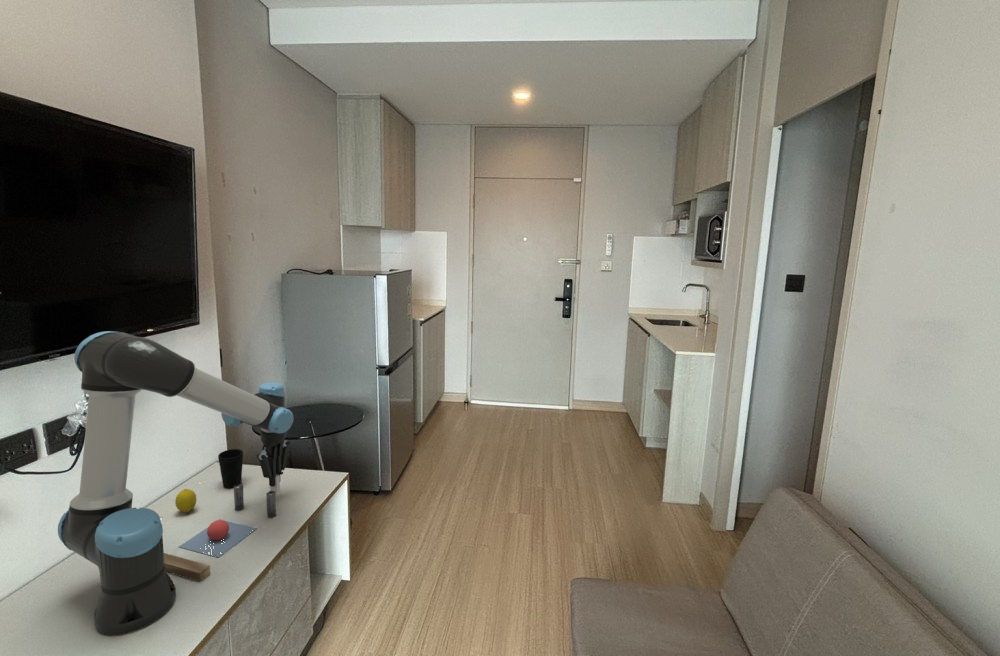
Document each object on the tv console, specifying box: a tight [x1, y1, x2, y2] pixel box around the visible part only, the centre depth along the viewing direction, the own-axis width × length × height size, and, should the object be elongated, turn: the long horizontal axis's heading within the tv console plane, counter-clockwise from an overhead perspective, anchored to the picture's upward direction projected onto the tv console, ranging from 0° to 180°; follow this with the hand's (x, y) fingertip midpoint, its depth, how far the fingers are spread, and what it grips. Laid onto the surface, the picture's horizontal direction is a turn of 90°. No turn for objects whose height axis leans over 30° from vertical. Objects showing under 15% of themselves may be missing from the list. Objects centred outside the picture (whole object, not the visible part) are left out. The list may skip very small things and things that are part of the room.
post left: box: [233, 483, 245, 512], centre depth 148 cm, size 3×3×8 cm
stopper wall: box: [164, 552, 211, 582], centre depth 121 cm, size 3×20×2 cm, turn 76°
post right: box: [266, 490, 277, 519], centre depth 145 cm, size 3×3×8 cm
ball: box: [207, 519, 229, 540], centre depth 134 cm, size 6×6×6 cm
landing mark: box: [178, 519, 258, 559], centre depth 134 cm, size 14×14×1 cm
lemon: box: [174, 488, 197, 513], centre depth 145 cm, size 6×6×8 cm
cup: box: [217, 448, 244, 490], centre depth 162 cm, size 8×8×12 cm
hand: (275, 492), depth 156 cm, fingers closed
